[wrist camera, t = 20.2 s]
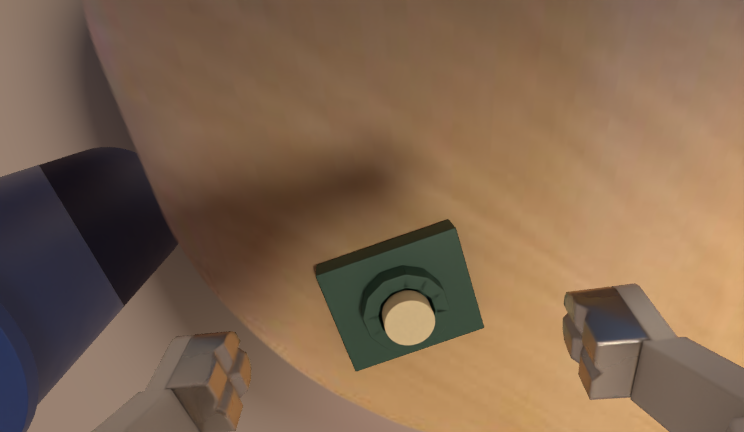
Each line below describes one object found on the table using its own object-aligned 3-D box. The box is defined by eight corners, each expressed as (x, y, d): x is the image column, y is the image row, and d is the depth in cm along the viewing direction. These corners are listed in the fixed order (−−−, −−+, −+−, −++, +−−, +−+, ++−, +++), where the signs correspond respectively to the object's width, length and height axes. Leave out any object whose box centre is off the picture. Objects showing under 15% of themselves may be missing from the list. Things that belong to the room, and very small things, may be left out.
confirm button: (390, 339, 36) (393, 352, 34) (375, 299, 35) (377, 310, 33) (436, 323, 36) (441, 336, 34) (422, 283, 35) (427, 293, 33)
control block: (354, 356, 41) (356, 385, 37) (316, 264, 37) (314, 286, 34) (476, 315, 40) (491, 340, 37) (448, 219, 37) (462, 235, 33)
